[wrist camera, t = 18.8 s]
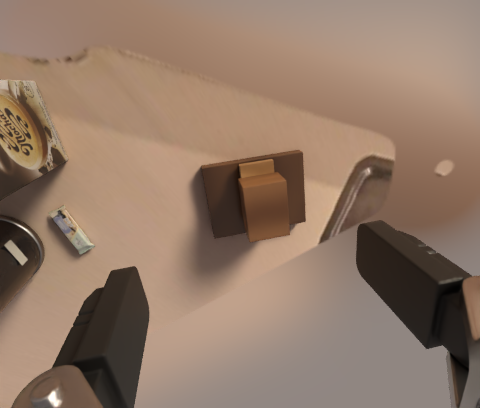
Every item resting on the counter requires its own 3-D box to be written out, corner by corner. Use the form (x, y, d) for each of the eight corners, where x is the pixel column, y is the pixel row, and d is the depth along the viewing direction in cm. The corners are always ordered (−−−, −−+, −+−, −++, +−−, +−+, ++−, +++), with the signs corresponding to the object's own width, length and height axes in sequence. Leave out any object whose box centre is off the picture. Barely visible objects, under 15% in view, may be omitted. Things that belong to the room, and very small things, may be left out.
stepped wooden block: (234, 163, 36) (240, 175, 32) (273, 156, 37) (285, 167, 32) (243, 233, 40) (251, 253, 35) (279, 226, 41) (290, 245, 36)
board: (213, 233, 41) (214, 239, 40) (201, 165, 37) (201, 168, 36) (302, 217, 42) (305, 221, 41) (299, 149, 39) (303, 152, 37)
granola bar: (97, 245, 39) (94, 249, 38) (81, 252, 39) (78, 256, 38) (65, 203, 36) (62, 206, 35) (48, 211, 36) (45, 214, 35)
